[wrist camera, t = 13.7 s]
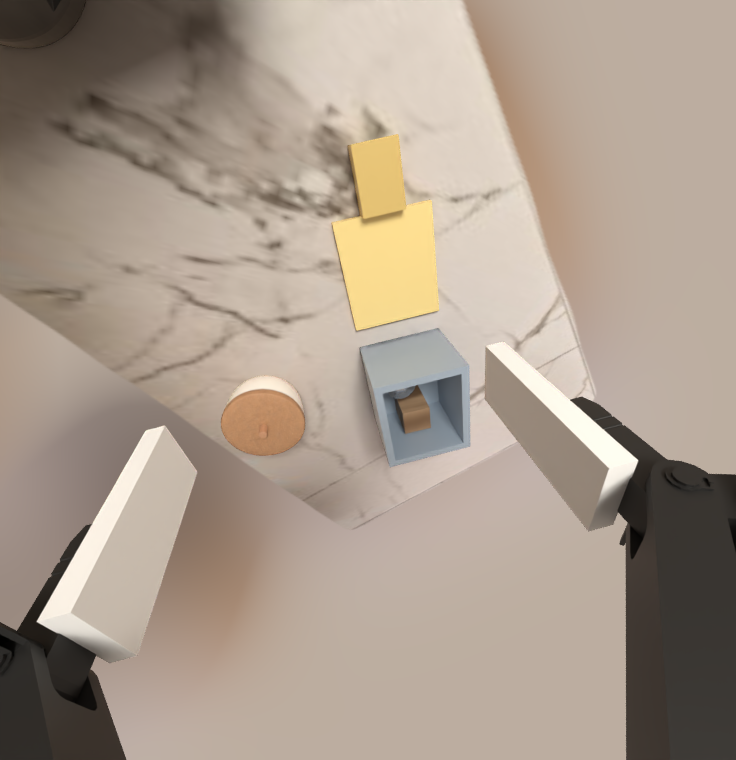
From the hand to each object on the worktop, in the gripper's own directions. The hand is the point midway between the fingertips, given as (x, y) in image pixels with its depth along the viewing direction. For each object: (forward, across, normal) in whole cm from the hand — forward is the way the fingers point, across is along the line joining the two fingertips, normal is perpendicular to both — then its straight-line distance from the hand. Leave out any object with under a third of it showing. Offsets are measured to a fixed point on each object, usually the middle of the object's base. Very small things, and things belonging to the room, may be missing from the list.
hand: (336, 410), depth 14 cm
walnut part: (+32, +9, -26) cm, 42 cm away
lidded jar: (+33, -12, -19) cm, 40 cm away
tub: (+33, +9, -22) cm, 40 cm away
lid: (+33, +9, -1) cm, 34 cm away
